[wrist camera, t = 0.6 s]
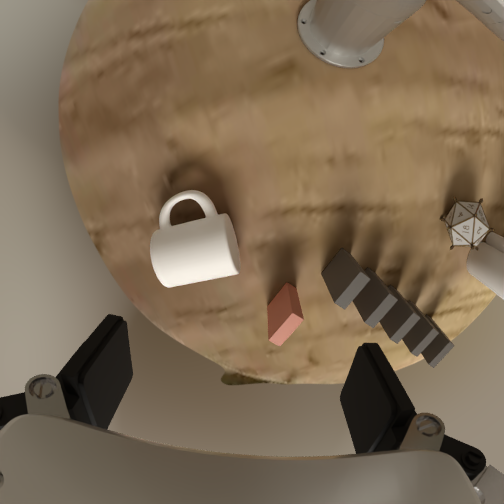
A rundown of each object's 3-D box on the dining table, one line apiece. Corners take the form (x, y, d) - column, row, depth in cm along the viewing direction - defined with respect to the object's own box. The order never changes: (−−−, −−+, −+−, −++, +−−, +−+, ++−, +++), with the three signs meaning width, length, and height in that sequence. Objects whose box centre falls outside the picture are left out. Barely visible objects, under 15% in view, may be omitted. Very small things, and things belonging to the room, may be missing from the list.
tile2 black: (341, 247, 42) (360, 271, 34) (350, 254, 43) (370, 279, 34) (321, 273, 44) (334, 302, 35) (330, 279, 44) (344, 309, 36)
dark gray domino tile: (367, 267, 43) (389, 293, 35) (375, 273, 43) (397, 300, 35) (347, 291, 45) (364, 322, 36) (355, 297, 45) (373, 328, 36)
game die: (435, 206, 43) (447, 182, 34) (477, 209, 40) (496, 186, 31) (437, 258, 42) (452, 244, 33) (480, 259, 38) (503, 246, 29)
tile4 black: (390, 284, 44) (413, 312, 36) (396, 290, 44) (420, 317, 36) (370, 307, 46) (389, 338, 37) (377, 312, 46) (397, 343, 37)
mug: (242, 260, 43) (238, 284, 36) (178, 273, 44) (163, 298, 37) (221, 179, 40) (212, 186, 32) (155, 197, 41) (133, 208, 33)
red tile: (286, 282, 44) (292, 312, 36) (296, 288, 45) (303, 319, 36) (267, 306, 46) (268, 340, 37) (276, 311, 46) (279, 346, 38)
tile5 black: (409, 300, 45) (433, 328, 36) (415, 305, 45) (439, 332, 37) (390, 322, 46) (411, 352, 38) (396, 326, 47) (417, 356, 38)
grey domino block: (426, 314, 46) (449, 341, 37) (431, 318, 46) (454, 345, 38) (408, 334, 47) (428, 364, 39) (413, 338, 48) (433, 367, 39)
